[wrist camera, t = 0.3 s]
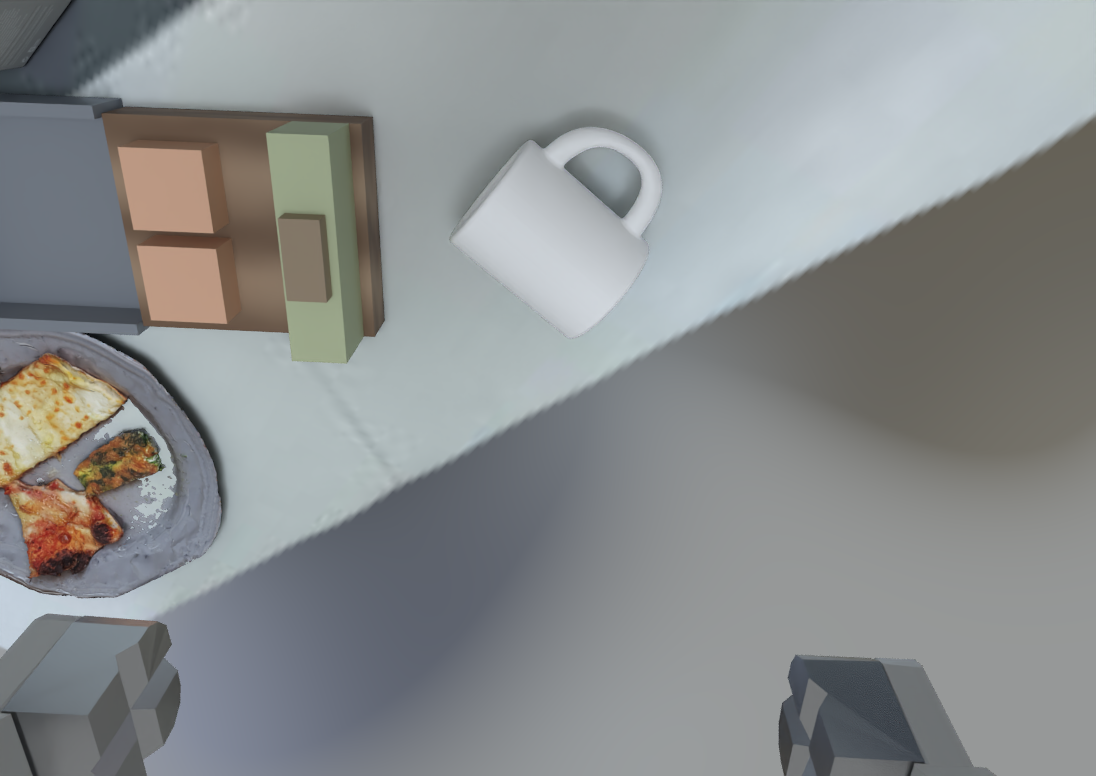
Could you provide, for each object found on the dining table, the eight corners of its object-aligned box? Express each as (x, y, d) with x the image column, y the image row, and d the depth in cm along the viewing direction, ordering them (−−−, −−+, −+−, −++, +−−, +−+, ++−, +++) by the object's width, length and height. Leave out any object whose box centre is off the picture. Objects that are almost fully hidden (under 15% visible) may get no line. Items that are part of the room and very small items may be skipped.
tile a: (137, 139, 51) (117, 147, 48) (218, 143, 51) (201, 150, 48) (152, 219, 53) (133, 229, 51) (229, 222, 53) (213, 233, 51)
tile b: (155, 234, 53) (136, 245, 51) (231, 238, 53) (215, 249, 51) (168, 306, 56) (151, 320, 53) (241, 310, 55) (227, 323, 53)
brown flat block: (125, 106, 53) (101, 113, 50) (372, 116, 52) (361, 124, 50) (163, 310, 59) (143, 325, 56) (384, 320, 59) (374, 336, 56)
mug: (568, 312, 58) (566, 358, 51) (457, 221, 55) (438, 255, 48) (689, 184, 54) (705, 214, 46) (575, 78, 51) (574, 92, 44)
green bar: (291, 120, 50) (258, 136, 45) (348, 123, 50) (321, 139, 45) (313, 333, 56) (286, 368, 51) (364, 336, 56) (341, 371, 51)
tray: (-75, 90, 53) (-117, 97, 50) (121, 98, 53) (91, 105, 49) (-13, 308, 59) (-46, 326, 56) (161, 316, 59) (138, 335, 56)
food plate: (55, 619, 72) (31, 647, 69) (-152, 411, 64) (-190, 432, 61) (283, 507, 67) (269, 531, 64) (89, 263, 59) (61, 278, 55)
